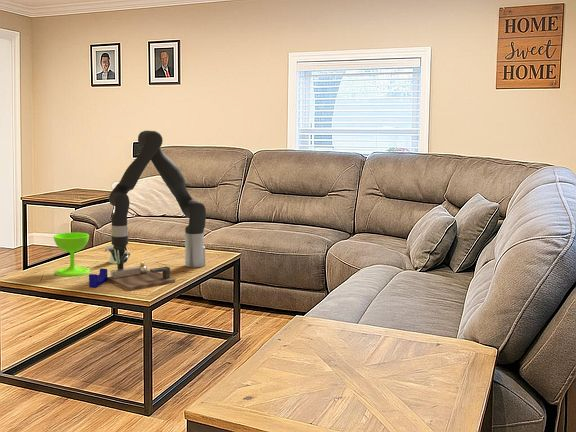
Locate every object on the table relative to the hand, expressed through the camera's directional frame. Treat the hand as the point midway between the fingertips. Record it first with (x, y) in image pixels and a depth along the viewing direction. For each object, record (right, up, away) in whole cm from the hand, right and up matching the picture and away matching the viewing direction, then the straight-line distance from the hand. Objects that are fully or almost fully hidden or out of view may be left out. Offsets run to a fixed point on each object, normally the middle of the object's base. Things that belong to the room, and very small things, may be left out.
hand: (120, 270), depth 293 cm
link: (+5, -2, -2) cm, 5 cm away
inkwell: (-10, +1, +26) cm, 28 cm away
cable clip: (-7, -5, -12) cm, 15 cm away
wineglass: (-25, -2, +7) cm, 26 cm away
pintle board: (+11, -4, -6) cm, 14 cm away
